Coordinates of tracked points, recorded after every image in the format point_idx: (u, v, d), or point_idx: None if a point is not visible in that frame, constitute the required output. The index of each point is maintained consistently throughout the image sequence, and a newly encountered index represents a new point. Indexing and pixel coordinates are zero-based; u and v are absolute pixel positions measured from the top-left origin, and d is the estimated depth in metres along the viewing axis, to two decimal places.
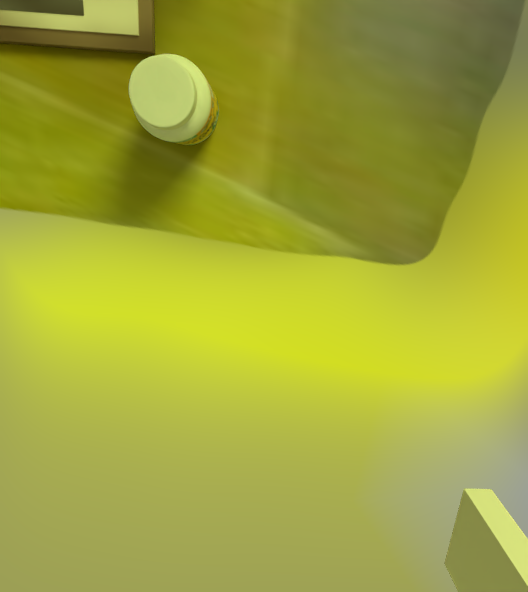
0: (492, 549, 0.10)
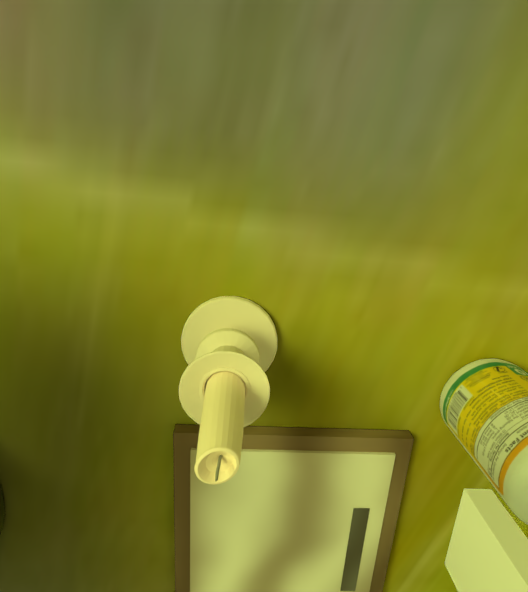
0: (491, 549, 0.10)
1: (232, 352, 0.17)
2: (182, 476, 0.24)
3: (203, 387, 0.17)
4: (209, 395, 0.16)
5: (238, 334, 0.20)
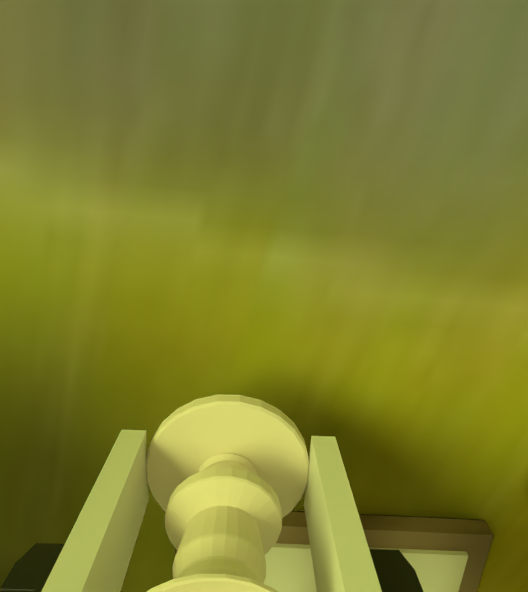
0: (317, 480, 0.11)
1: (228, 578, 0.08)
2: None
3: None
4: None
5: (243, 483, 0.11)
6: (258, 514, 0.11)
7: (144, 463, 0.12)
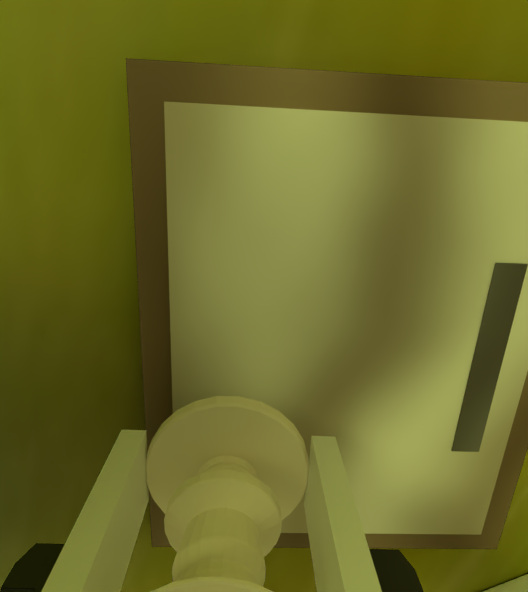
0: (317, 480, 0.11)
1: (228, 581, 0.08)
2: (150, 180, 0.12)
3: None
4: None
5: (242, 485, 0.10)
6: (258, 516, 0.11)
7: (144, 463, 0.12)
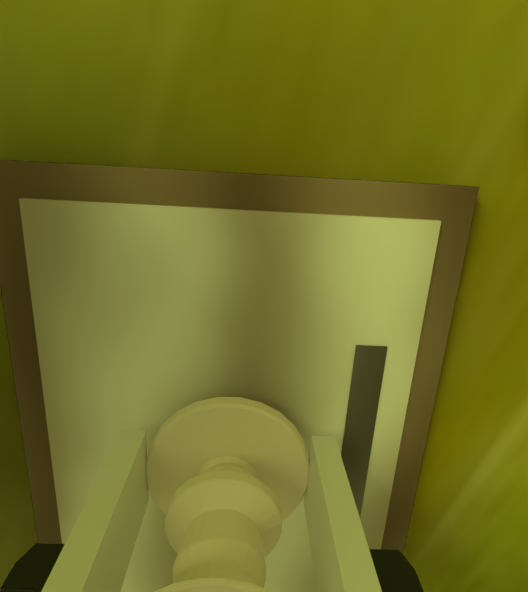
0: (317, 481, 0.11)
1: (228, 583, 0.08)
2: (14, 267, 0.12)
3: None
4: None
5: (243, 486, 0.10)
6: (258, 517, 0.11)
7: (144, 463, 0.12)
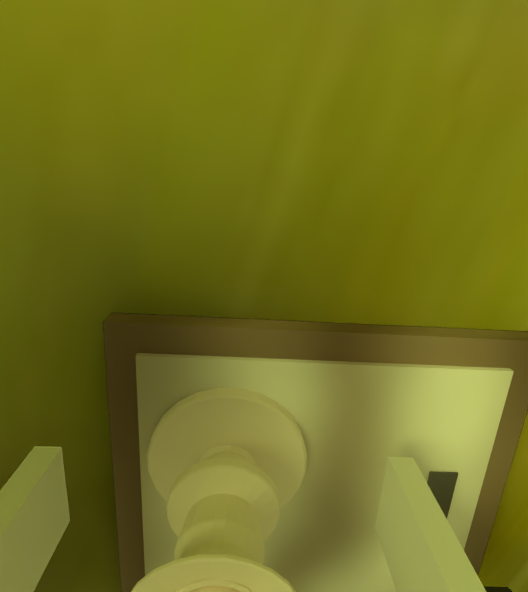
0: (404, 508, 0.11)
1: (229, 559, 0.08)
2: (124, 409, 0.13)
3: None
4: None
5: (242, 472, 0.11)
6: (257, 502, 0.11)
7: (59, 482, 0.11)
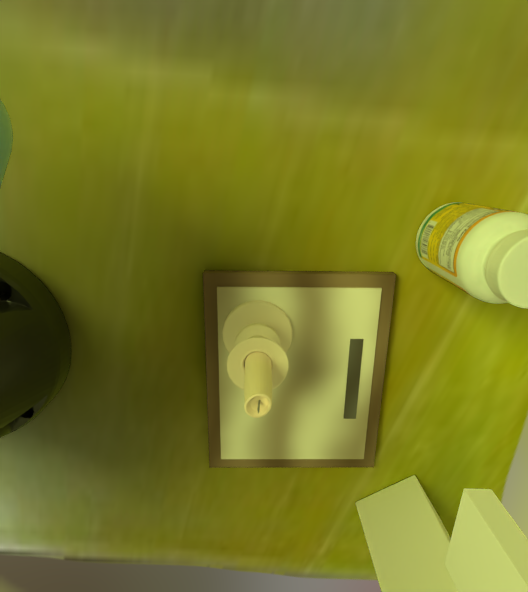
0: (492, 549, 0.10)
1: (262, 338, 0.25)
2: (211, 312, 0.30)
3: (243, 363, 0.25)
4: (248, 366, 0.24)
5: (264, 327, 0.28)
6: (271, 339, 0.28)
7: None
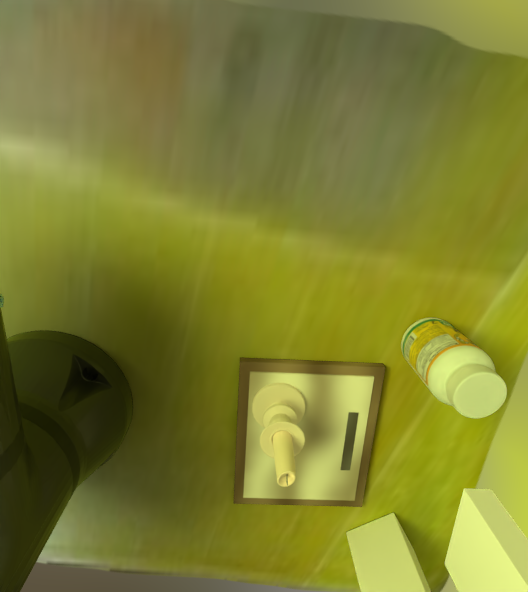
0: (492, 549, 0.10)
1: (286, 422, 0.34)
2: (243, 389, 0.39)
3: (271, 438, 0.35)
4: (277, 444, 0.33)
5: (286, 407, 0.37)
6: (290, 416, 0.37)
7: None
